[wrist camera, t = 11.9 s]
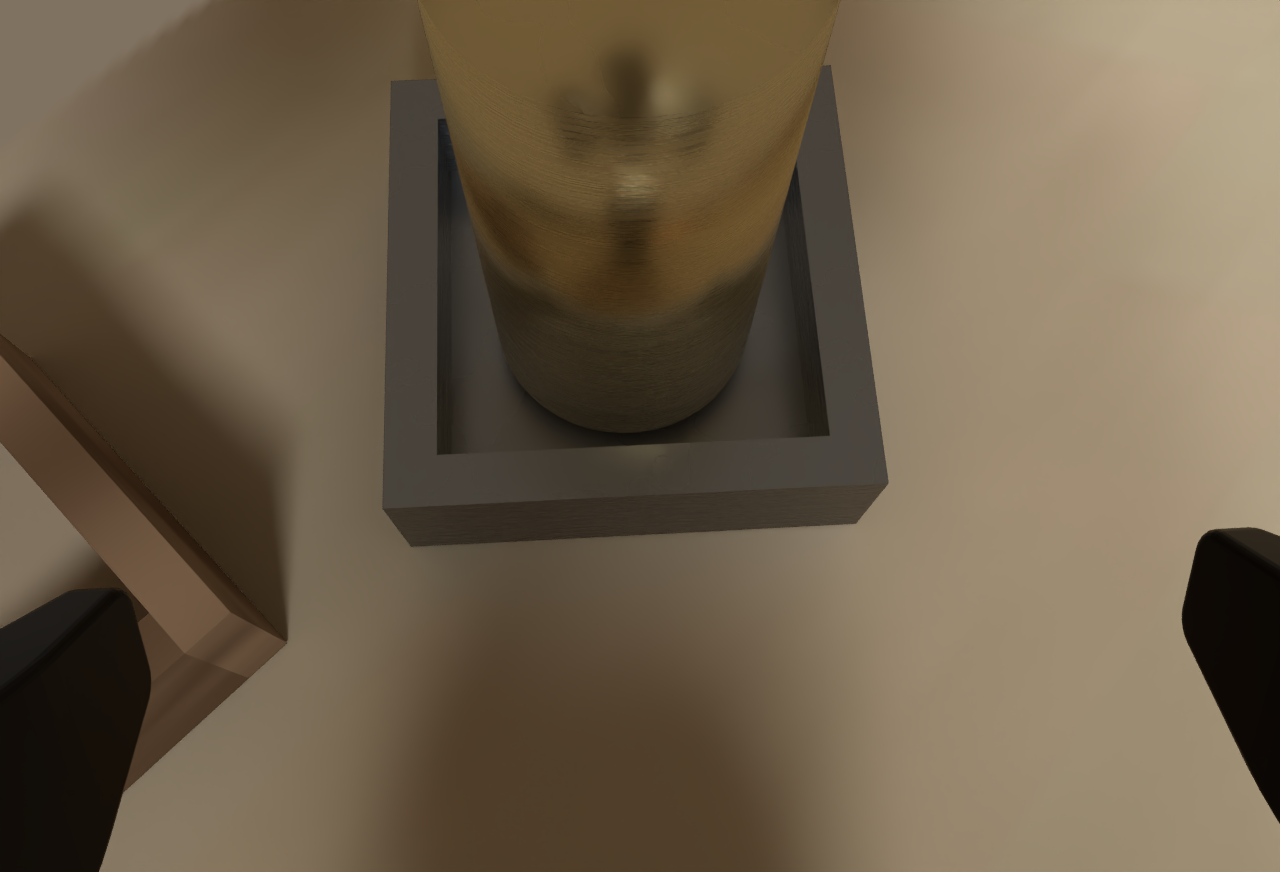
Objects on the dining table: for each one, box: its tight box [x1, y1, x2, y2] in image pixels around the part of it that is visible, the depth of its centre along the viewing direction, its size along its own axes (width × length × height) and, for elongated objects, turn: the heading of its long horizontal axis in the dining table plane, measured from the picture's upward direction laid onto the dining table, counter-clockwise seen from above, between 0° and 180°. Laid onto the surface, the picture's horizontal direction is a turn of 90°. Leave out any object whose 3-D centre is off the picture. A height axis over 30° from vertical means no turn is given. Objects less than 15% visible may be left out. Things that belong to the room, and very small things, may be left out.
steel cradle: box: [383, 65, 888, 547], centre depth 24 cm, size 10×10×3 cm
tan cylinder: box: [417, 0, 840, 433], centre depth 19 cm, size 6×6×11 cm
